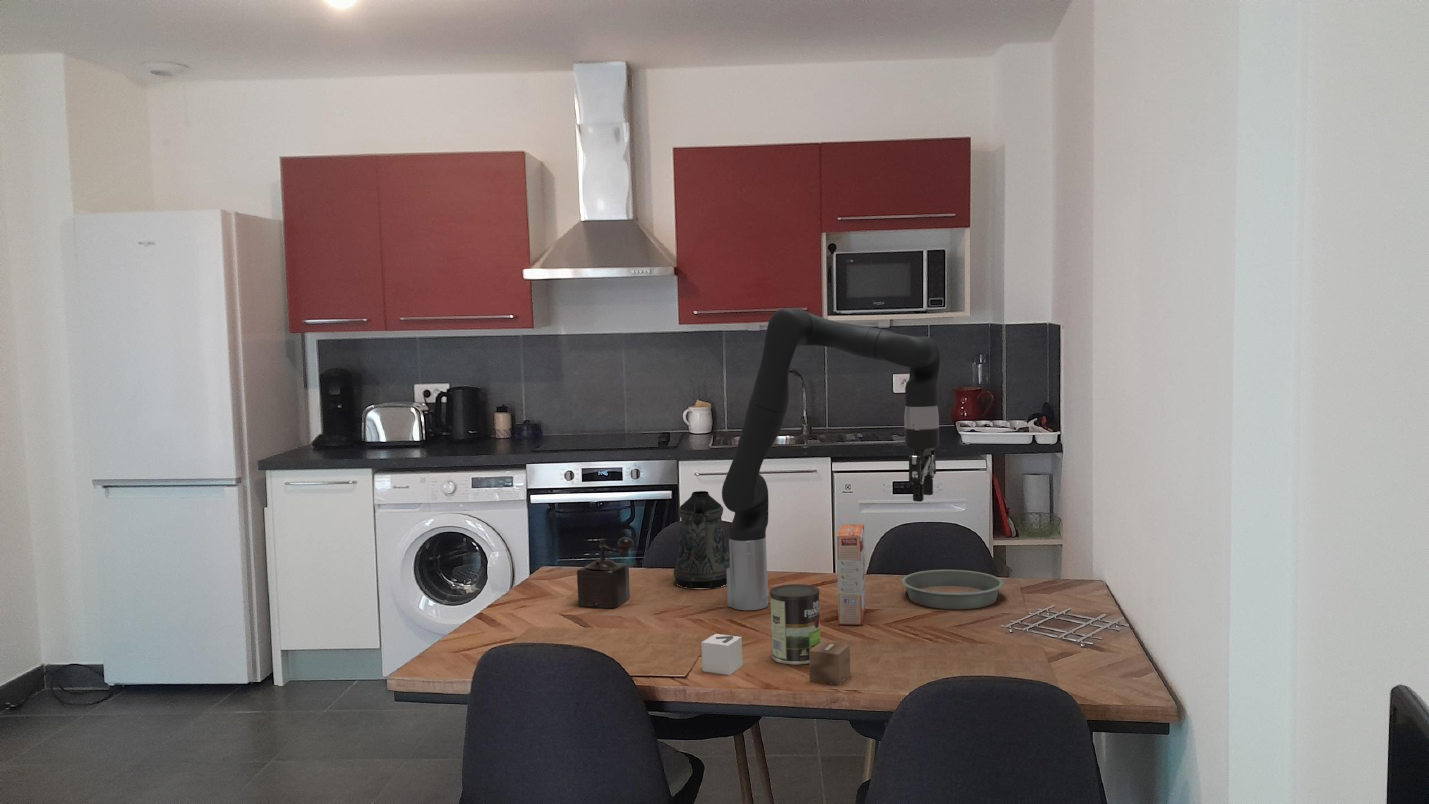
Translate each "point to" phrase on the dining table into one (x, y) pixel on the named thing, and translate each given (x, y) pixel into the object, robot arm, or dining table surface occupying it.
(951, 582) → the cake pan
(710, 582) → the dark ornate jug
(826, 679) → the walnut block
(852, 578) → the cracker box
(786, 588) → the coffee can
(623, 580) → the manual coffee grinder
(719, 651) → the offwhite block
